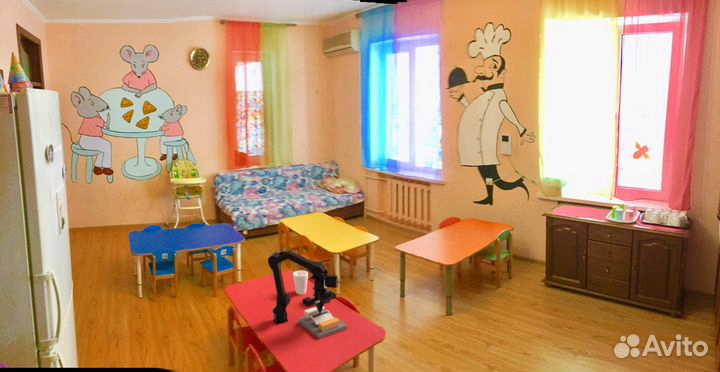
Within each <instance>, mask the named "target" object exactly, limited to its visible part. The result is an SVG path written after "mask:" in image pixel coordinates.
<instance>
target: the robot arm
mask: <svg viewBox="0 0 720 372" xmlns="http://www.w3.org/2000/svg"><path fill="white" fill-rule="evenodd" d="M287 260H289V261H290V262H293V263H295V264H297V265H299V266H301V267H303V268H305V269H307V271H309V273H310V274H311V276H310V278H309V279H310V280H313V287H312V290H313V294H312V297H313V298H312V297H309V296H308V297H304V298H303V299H302V302H301V303H302V305H304V306H306V307H307V308H309V307H313V306H314V307H316V308H317V310H318V312H319V313H321V311H322V308H323V307H325V305H326V304H330V303H331V301H333V300H334V299H337V294H336V292H334V291H333V290H329V291H327V292H326V289H325V287H324V280H325V286H326V287H329V289H330V288H332V289H338V287H339V277H338V275H336V274H335V275H333V274H332V275H331V274H330V272H329V271H328V270H327V268H326V266H325V264H324V263H322V262H319V261H313V260H310V259H308V258H306V257H304V256H302V255H300V254H299V253H296V252H294V251H293V250H291V249H288V250H283V251H280V252H277V251H276V252H272V254H271V255H270V256H269V257H268V258H267V264H268V266H269V268H270V269H271V271H272V275H273V279H274V285H275V290H276V302H275V303H276V305H275V306H274V307H273V309H272V313H273V319H272V321H273V322H274V323H276V324H277V325H281V324H284V323H287V322H288V321H289V319H288V312H287V308H288V306H289V305H290V303H291V301H292V300H291V297H290V296H291V295H290V294H289V293H286V289H285V283H284V278H283V273H282V262H284V261H287Z"/></svg>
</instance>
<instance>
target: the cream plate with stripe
mask: <svg viewBox="0 0 720 372" xmlns="http://www.w3.org/2000/svg"><path fill="white" fill-rule="evenodd" d="M332 315H333V314H331V312H330V311H329V310H328V309H327V310H326V309H325V311H323V312H321V313H317V314H314V315H311V318H312V320H313V321H314V322H315V324H316V325H319V323H321V322H324V321H326V320H329V319H332V318H333V316H334V315H333V316H332Z"/></svg>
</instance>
